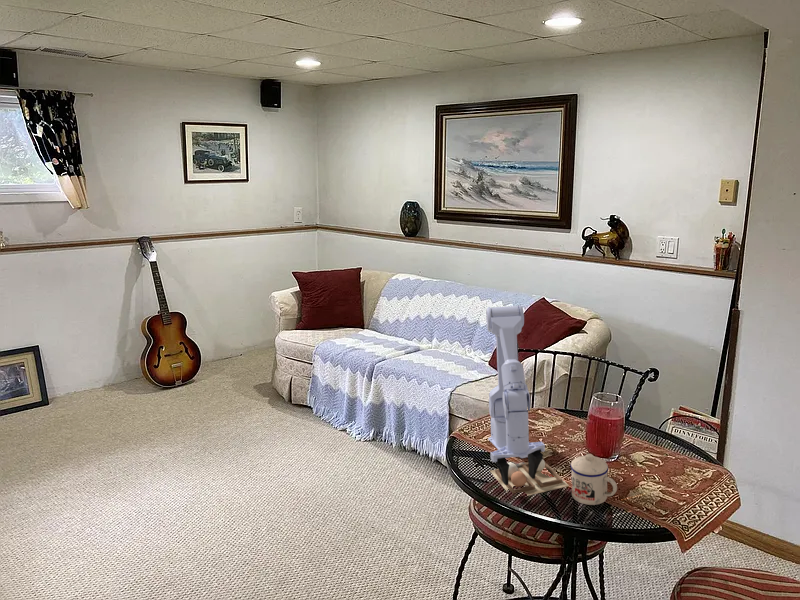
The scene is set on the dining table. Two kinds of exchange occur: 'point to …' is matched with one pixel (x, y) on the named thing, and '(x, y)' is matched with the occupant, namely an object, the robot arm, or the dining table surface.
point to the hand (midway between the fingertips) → (518, 480)
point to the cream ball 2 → (541, 466)
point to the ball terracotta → (518, 479)
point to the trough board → (533, 480)
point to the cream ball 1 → (512, 469)
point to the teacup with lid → (590, 480)
